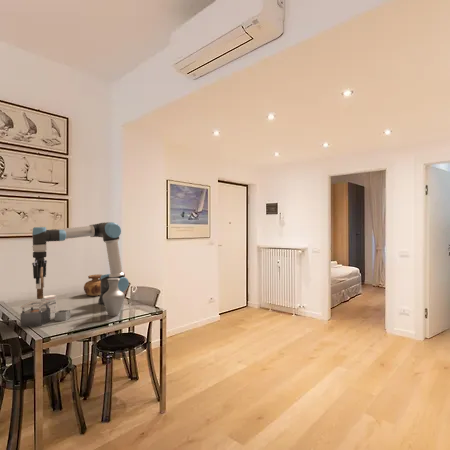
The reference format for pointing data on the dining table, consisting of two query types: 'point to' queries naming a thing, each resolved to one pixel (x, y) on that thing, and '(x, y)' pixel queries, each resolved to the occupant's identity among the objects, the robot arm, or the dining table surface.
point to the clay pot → (93, 285)
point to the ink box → (52, 302)
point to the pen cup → (62, 315)
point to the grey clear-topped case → (35, 314)
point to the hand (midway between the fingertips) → (40, 288)
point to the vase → (113, 297)
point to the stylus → (40, 291)
